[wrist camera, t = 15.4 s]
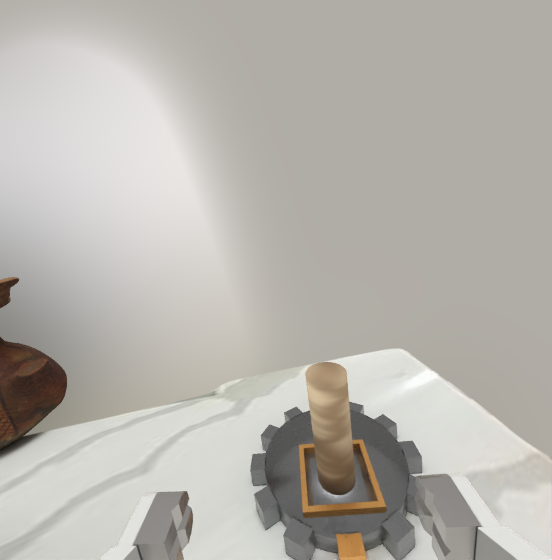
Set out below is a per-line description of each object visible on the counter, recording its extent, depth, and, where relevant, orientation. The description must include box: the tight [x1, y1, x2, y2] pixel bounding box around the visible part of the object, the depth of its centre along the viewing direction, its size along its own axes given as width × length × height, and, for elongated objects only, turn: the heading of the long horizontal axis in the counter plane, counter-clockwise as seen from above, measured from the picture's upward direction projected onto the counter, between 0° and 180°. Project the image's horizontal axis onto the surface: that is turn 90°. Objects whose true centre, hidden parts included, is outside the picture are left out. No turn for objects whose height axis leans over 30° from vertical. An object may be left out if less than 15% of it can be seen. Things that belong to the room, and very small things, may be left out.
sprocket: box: [251, 402, 422, 560], centre depth 35 cm, size 22×22×3 cm
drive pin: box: [306, 362, 356, 495], centre depth 31 cm, size 4×4×14 cm
